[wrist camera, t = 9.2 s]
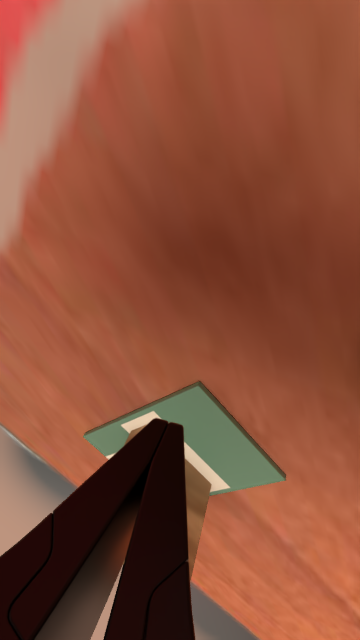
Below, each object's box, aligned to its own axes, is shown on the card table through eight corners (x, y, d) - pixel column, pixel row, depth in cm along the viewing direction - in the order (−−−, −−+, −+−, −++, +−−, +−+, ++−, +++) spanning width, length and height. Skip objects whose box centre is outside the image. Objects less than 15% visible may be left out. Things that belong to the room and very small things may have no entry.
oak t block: (149, 423, 30) (109, 513, 23) (211, 484, 32) (190, 580, 26) (96, 444, 34) (50, 525, 28) (154, 497, 36) (124, 582, 30)
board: (199, 381, 26) (198, 385, 26) (285, 475, 29) (285, 480, 29) (85, 432, 34) (83, 436, 34) (161, 501, 38) (160, 505, 37)
